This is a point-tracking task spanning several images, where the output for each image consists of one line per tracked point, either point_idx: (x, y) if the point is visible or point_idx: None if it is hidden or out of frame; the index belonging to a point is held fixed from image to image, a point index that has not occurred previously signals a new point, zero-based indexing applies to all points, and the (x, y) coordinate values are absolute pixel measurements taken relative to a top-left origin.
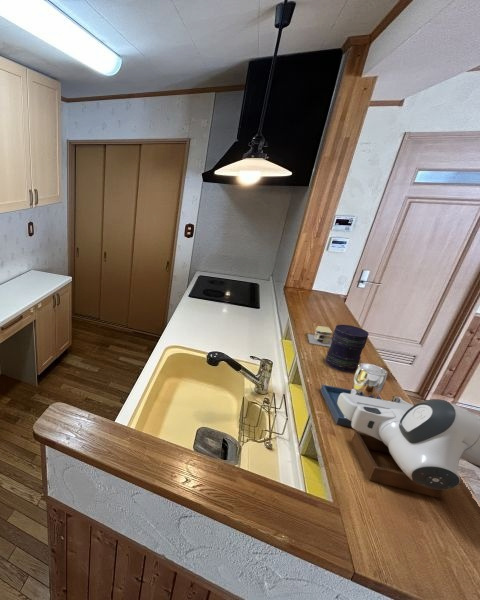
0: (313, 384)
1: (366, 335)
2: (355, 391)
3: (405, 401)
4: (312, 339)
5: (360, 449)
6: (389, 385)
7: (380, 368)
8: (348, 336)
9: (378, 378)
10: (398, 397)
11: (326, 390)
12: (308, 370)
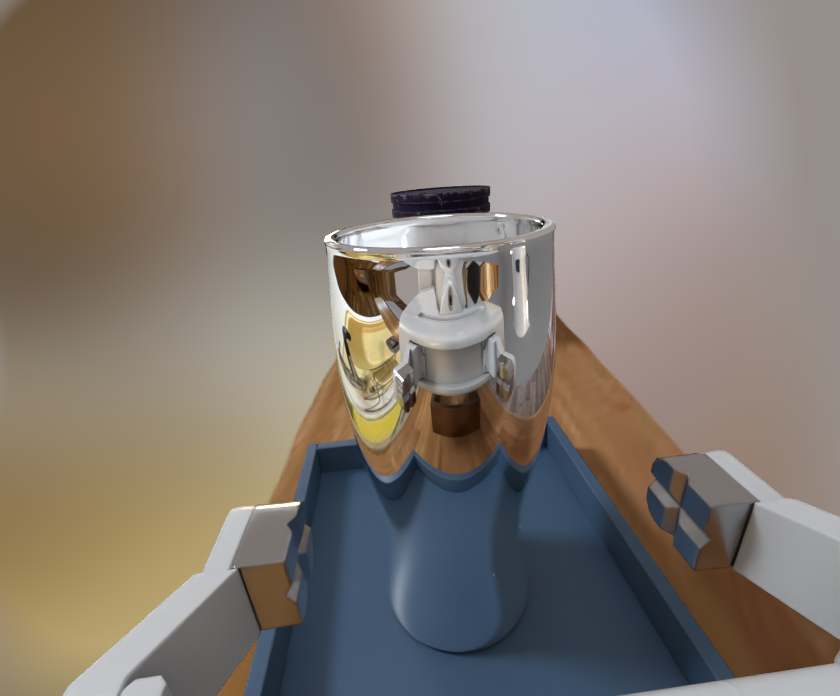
0: (304, 446)
1: (482, 189)
2: (219, 563)
3: (823, 511)
4: None
5: None
6: (585, 358)
7: (505, 223)
8: (424, 205)
9: (478, 291)
10: (712, 462)
11: (306, 481)
12: (327, 381)
